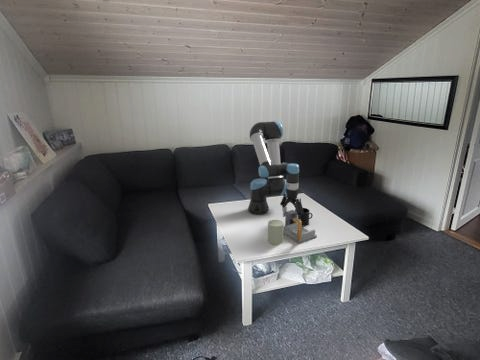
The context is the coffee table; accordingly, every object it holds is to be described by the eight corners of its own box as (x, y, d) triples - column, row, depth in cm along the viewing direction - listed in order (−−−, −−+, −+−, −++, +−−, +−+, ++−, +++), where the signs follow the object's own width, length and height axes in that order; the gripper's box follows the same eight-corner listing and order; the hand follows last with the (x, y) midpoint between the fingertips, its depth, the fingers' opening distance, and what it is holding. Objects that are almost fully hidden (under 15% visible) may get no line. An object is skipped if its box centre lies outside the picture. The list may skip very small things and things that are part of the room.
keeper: (281, 232, 183) (282, 212, 179) (298, 227, 190) (299, 207, 186) (299, 243, 170) (299, 222, 166) (316, 237, 177) (318, 216, 173)
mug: (314, 225, 192) (315, 212, 190) (296, 226, 191) (297, 213, 188) (309, 219, 201) (310, 206, 199) (292, 220, 200) (293, 208, 197)
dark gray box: (285, 225, 192) (285, 211, 189) (292, 223, 195) (292, 209, 192) (289, 228, 188) (290, 214, 185) (296, 226, 191) (297, 212, 188)
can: (266, 237, 178) (266, 219, 174) (281, 236, 178) (281, 218, 175) (269, 245, 169) (269, 226, 165) (284, 244, 170) (285, 225, 166)
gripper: (275, 184, 193) (274, 214, 199) (301, 195, 172) (300, 228, 178) (284, 182, 196) (283, 212, 202) (310, 192, 176) (309, 225, 182)
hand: (291, 219), depth 190 cm, fingers open, 13 cm apart
